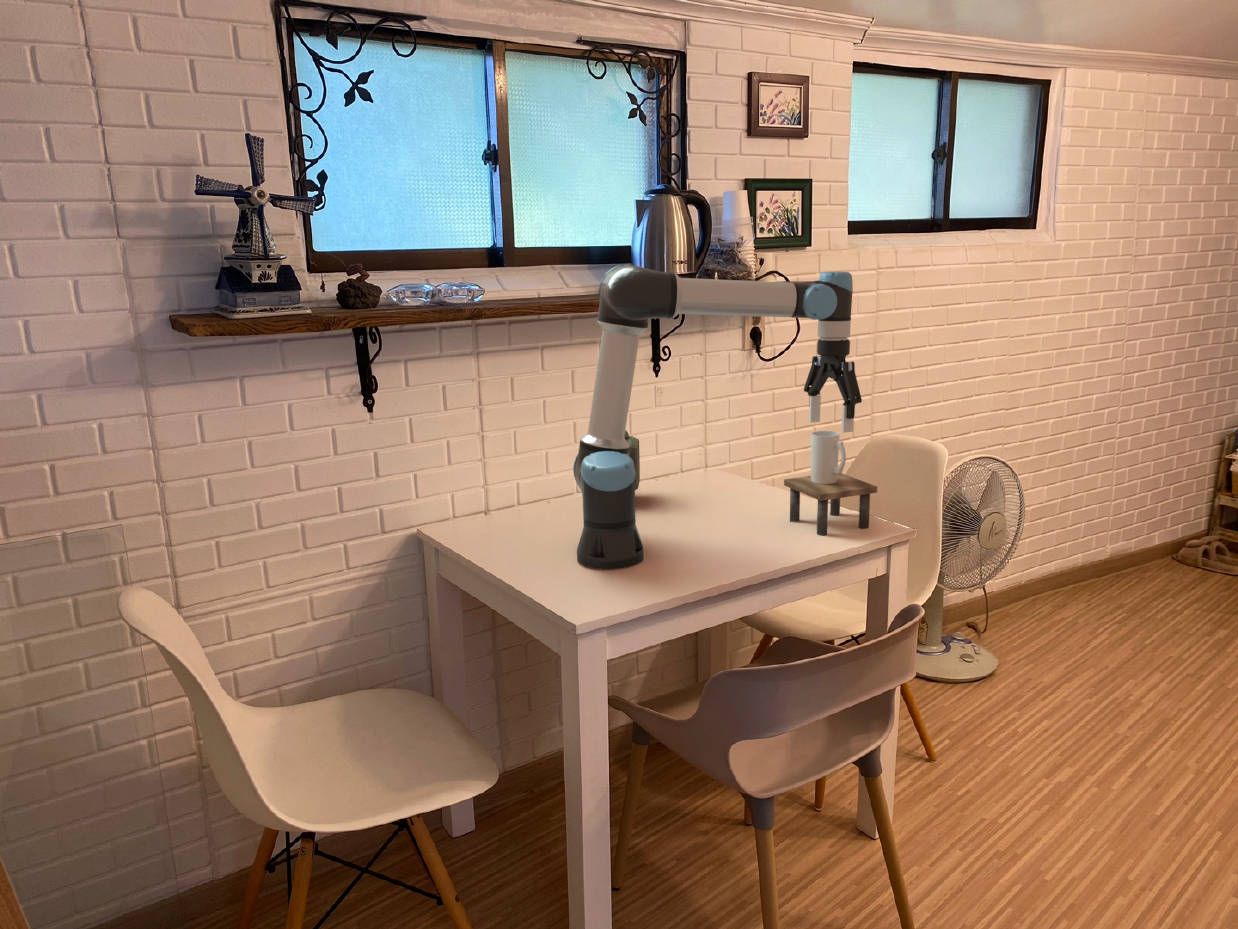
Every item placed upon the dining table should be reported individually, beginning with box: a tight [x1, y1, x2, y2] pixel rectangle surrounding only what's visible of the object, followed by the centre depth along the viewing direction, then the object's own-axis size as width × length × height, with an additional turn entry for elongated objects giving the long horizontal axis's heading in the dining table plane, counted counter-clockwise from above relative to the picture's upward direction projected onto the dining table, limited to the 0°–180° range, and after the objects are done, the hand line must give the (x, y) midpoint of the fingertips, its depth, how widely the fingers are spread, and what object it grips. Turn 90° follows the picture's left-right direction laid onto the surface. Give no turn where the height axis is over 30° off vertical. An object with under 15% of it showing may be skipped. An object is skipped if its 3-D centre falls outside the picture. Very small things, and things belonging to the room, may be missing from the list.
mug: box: [810, 430, 847, 484], centre depth 225 cm, size 10×7×12 cm, turn 34°
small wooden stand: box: [783, 472, 878, 537], centre depth 227 cm, size 16×16×10 cm
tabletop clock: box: [624, 429, 641, 491], centre depth 250 cm, size 14×9×25 cm, turn 175°
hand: (830, 427), depth 223 cm, fingers open, 13 cm apart
